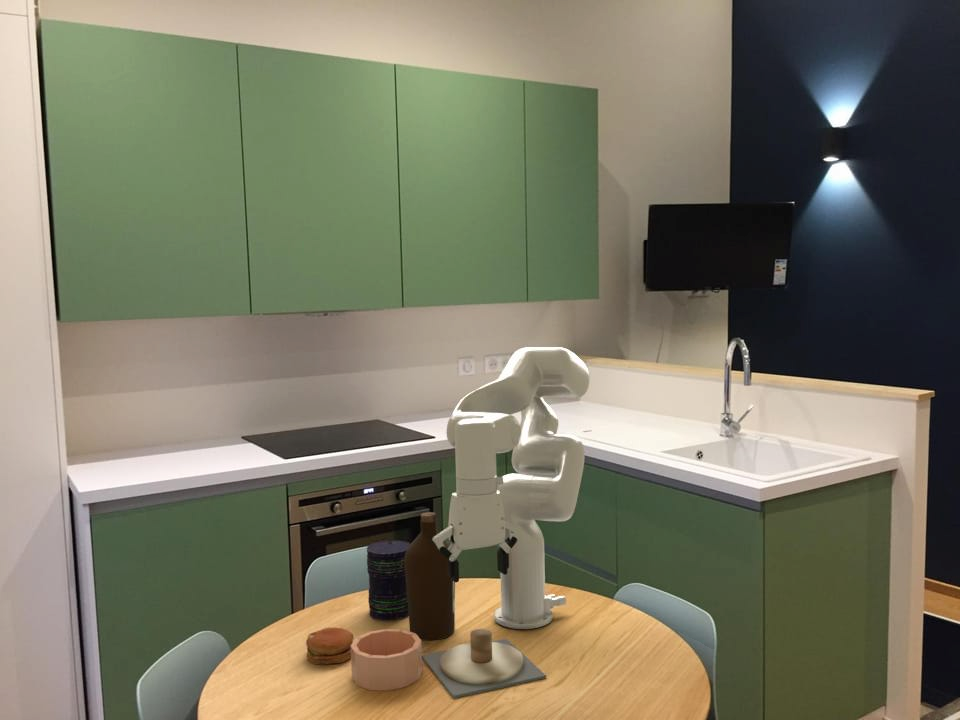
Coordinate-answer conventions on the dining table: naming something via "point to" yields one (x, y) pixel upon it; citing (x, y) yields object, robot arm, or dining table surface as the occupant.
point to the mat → (464, 689)
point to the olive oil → (429, 585)
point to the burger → (329, 646)
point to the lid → (481, 660)
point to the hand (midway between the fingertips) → (478, 576)
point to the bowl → (386, 659)
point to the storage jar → (387, 580)
